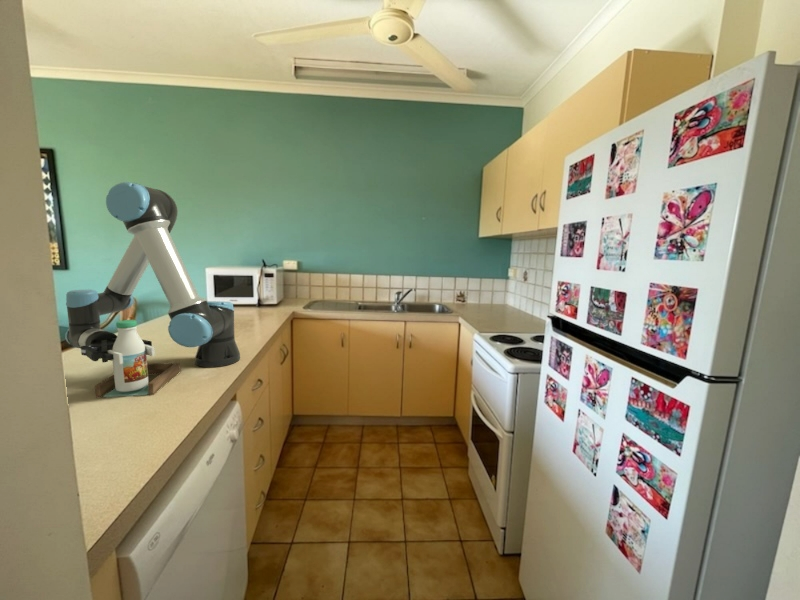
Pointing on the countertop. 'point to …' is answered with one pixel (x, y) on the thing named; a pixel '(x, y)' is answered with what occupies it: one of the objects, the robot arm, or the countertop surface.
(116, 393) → the pad
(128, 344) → the milk bottle
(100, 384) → the bay
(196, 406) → the countertop surface
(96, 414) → the countertop surface
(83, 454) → the countertop surface
